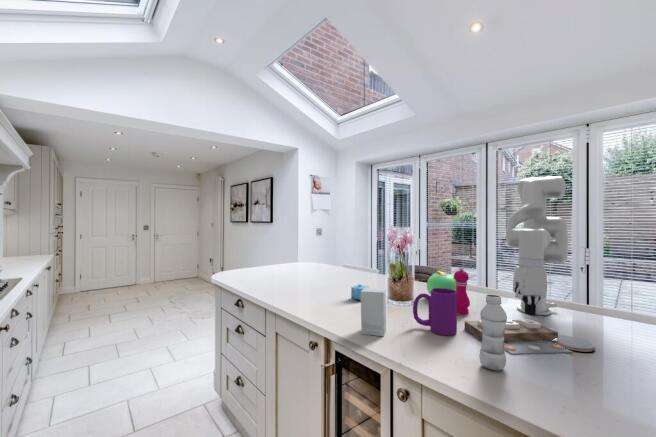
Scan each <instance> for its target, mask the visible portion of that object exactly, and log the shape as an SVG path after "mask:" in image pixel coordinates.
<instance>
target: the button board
mask: <svg viewBox="0 0 656 437" xmlns="http://www.w3.org/2000/svg"><path fill="white" fill-rule="evenodd" d="M511 320H512V321H514V322H516V323H518V324H519V329H506V328H505V334H504V344H507V343H543V342H553V341H552V340H553V339H555V338H558V339H559V332H558V331H556V330H555V329H552V328H549V327H547V326H545V325H543V324H541V327H540V328H530V329H529V328H526V327H524V326H522V325H520V320H521V319H511ZM478 321H479V320H464V330H466V331H467V332H468V333H469V334H472V335H473V336H474V337H476V338H477V339H478V340H480V341H481V342H482V327H480V326H479V325H478Z"/></svg>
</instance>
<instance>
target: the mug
mask: <svg viewBox="0 0 656 437" xmlns="http://www.w3.org/2000/svg"><path fill="white" fill-rule="evenodd" d="M423 298H424V299H426V301H428V319H422V318H420V317H419V314H418V306H419V302H420V301H421V299H423ZM412 314H413V318H414V320H415V322H416V323H417V324H419V325H421V326H424V327H430V331H431V332H432V333H434V334H435V335H439V336H444V337H449V336H450V337H451V336H454V335H456V334H457V332H458V329H457V328H458V325H457V323H458V314H457V292H456V291H454V290H451V289H446V288H434V289H432V290H431V295H430V294H427V293H420V294H418V295H417V296H416V297H415V299H414V300H413V306H412Z"/></svg>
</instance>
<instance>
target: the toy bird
mask: <svg viewBox="0 0 656 437" xmlns="http://www.w3.org/2000/svg"><path fill="white" fill-rule="evenodd" d="M455 281H456V280H455V279H454V274H451V273H447V272H444V271H440V270H436V272H435V273H433V274H432V275H430V276H429V278H428V280H427V282H426V289H427V291H428V293H429V294H428V295H429V296H431V290H432V289H434V288H446V289H451V290H454V291H456V285H455Z"/></svg>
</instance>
